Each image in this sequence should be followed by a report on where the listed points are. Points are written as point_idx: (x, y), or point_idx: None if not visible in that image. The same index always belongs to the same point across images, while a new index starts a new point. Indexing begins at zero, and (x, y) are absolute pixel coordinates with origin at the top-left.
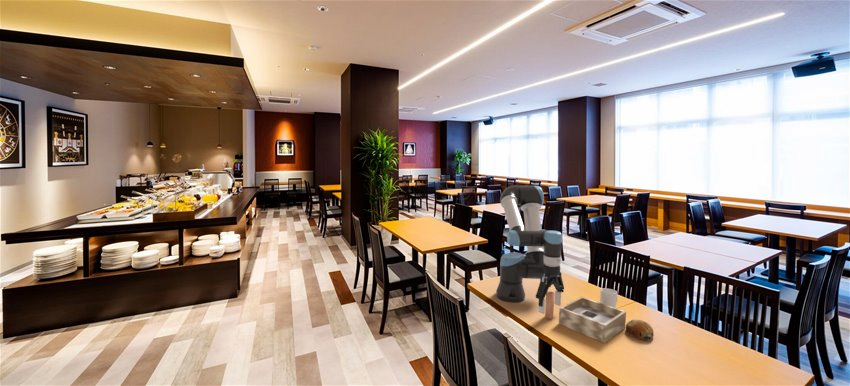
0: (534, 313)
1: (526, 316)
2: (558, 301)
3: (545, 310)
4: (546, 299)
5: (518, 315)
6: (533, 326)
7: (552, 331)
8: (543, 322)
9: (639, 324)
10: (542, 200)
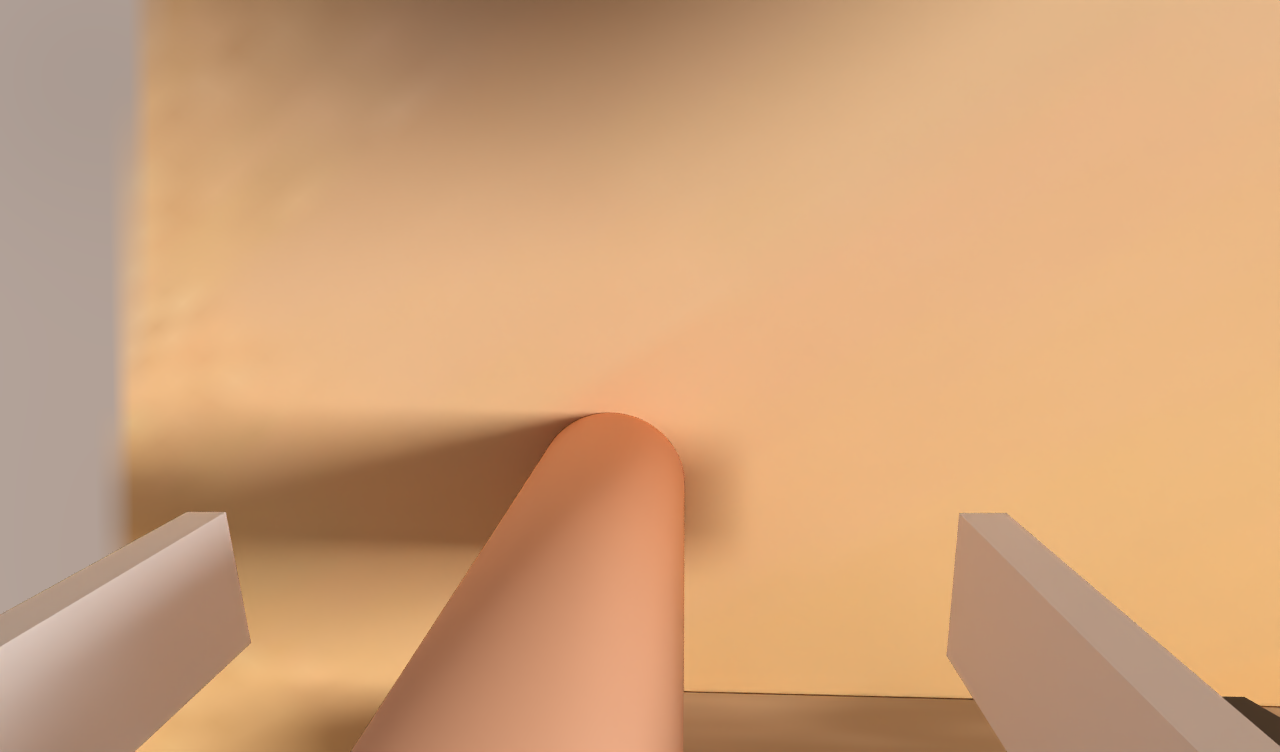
0: (514, 212)
1: (272, 198)
2: (1005, 706)
3: (524, 488)
4: (362, 737)
5: (159, 67)
6: (121, 498)
7: (267, 738)
8: (369, 521)
9: None
10: None
